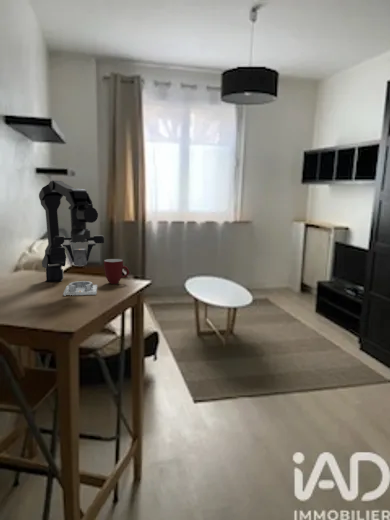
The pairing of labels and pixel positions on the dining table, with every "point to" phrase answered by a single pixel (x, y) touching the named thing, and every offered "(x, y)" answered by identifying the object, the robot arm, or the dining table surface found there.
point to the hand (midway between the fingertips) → (80, 261)
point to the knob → (80, 257)
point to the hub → (80, 288)
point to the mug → (114, 270)
